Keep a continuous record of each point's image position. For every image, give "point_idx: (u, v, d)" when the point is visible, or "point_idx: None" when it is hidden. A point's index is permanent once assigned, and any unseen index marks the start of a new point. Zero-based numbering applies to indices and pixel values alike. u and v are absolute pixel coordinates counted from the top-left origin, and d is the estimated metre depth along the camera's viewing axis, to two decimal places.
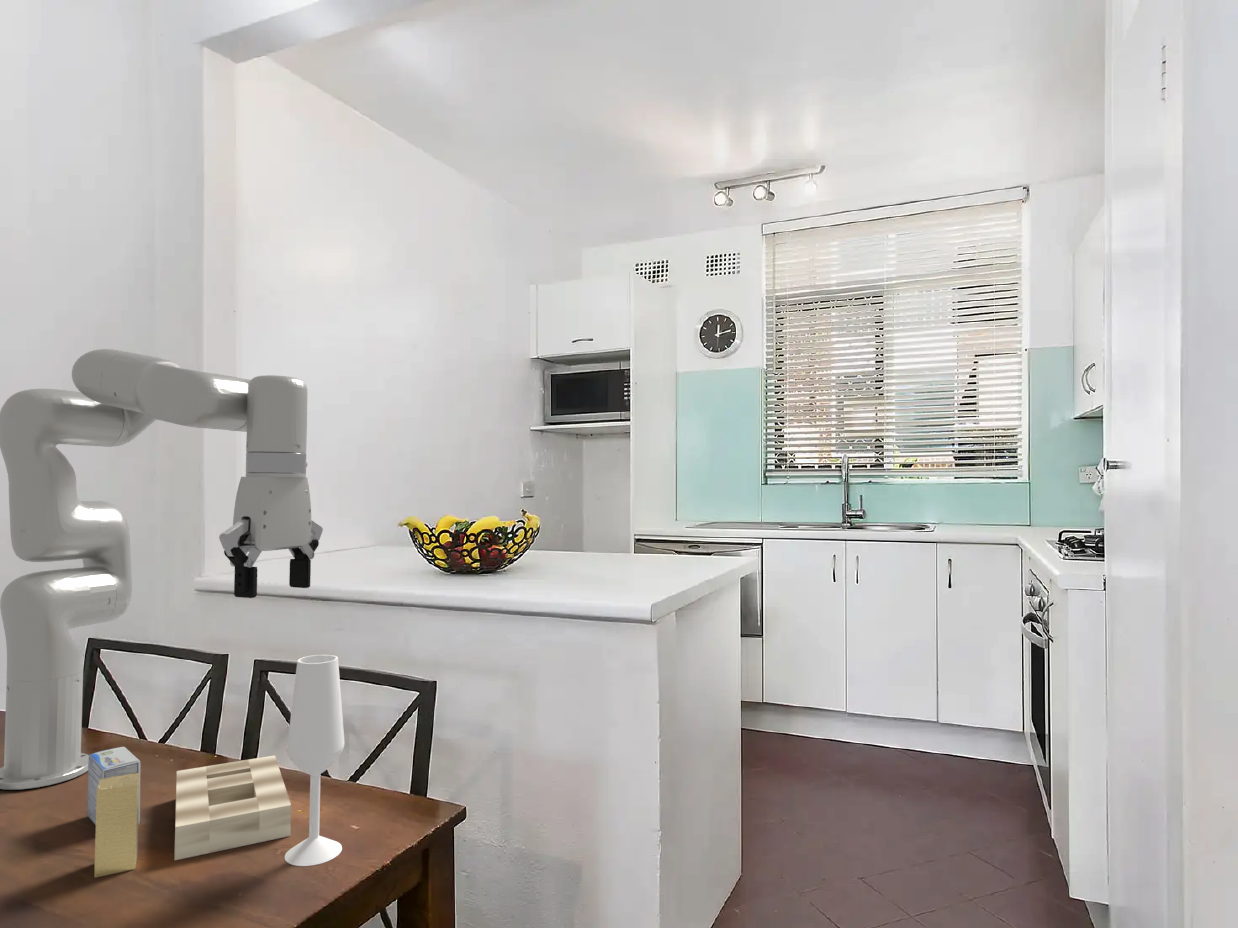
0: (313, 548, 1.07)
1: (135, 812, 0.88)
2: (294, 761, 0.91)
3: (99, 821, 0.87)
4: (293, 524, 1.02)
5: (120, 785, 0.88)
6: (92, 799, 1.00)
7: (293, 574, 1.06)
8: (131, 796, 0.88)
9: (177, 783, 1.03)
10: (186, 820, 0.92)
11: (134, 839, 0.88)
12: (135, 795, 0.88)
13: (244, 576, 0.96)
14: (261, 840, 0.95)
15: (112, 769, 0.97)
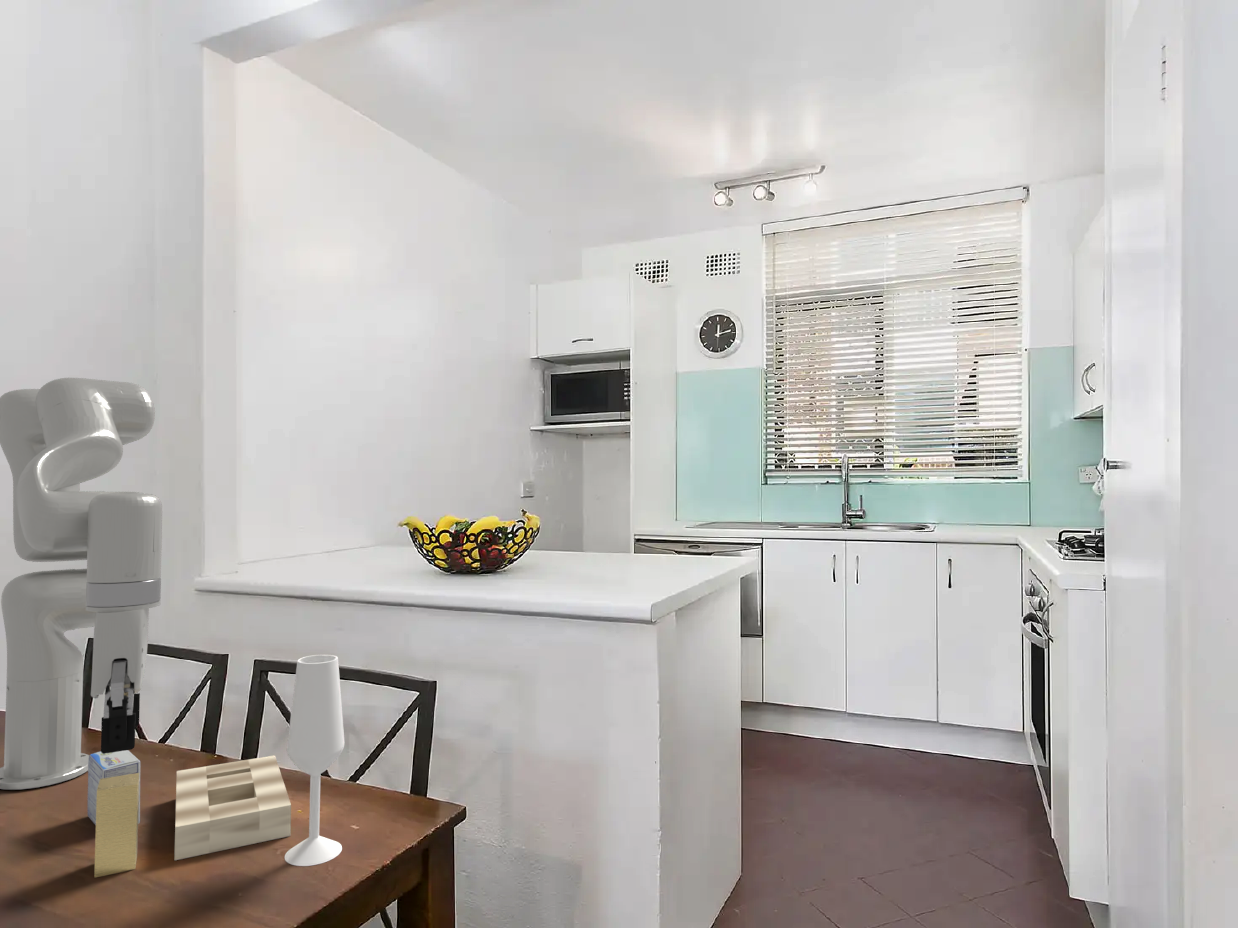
0: None
1: (135, 812, 0.88)
2: (294, 761, 0.91)
3: (99, 821, 0.87)
4: (146, 657, 0.91)
5: (120, 785, 0.88)
6: (92, 799, 1.00)
7: None
8: (131, 796, 0.88)
9: (177, 783, 1.03)
10: (186, 820, 0.92)
11: (134, 839, 0.88)
12: (135, 795, 0.88)
13: (125, 727, 0.85)
14: (261, 840, 0.95)
15: (112, 769, 0.97)
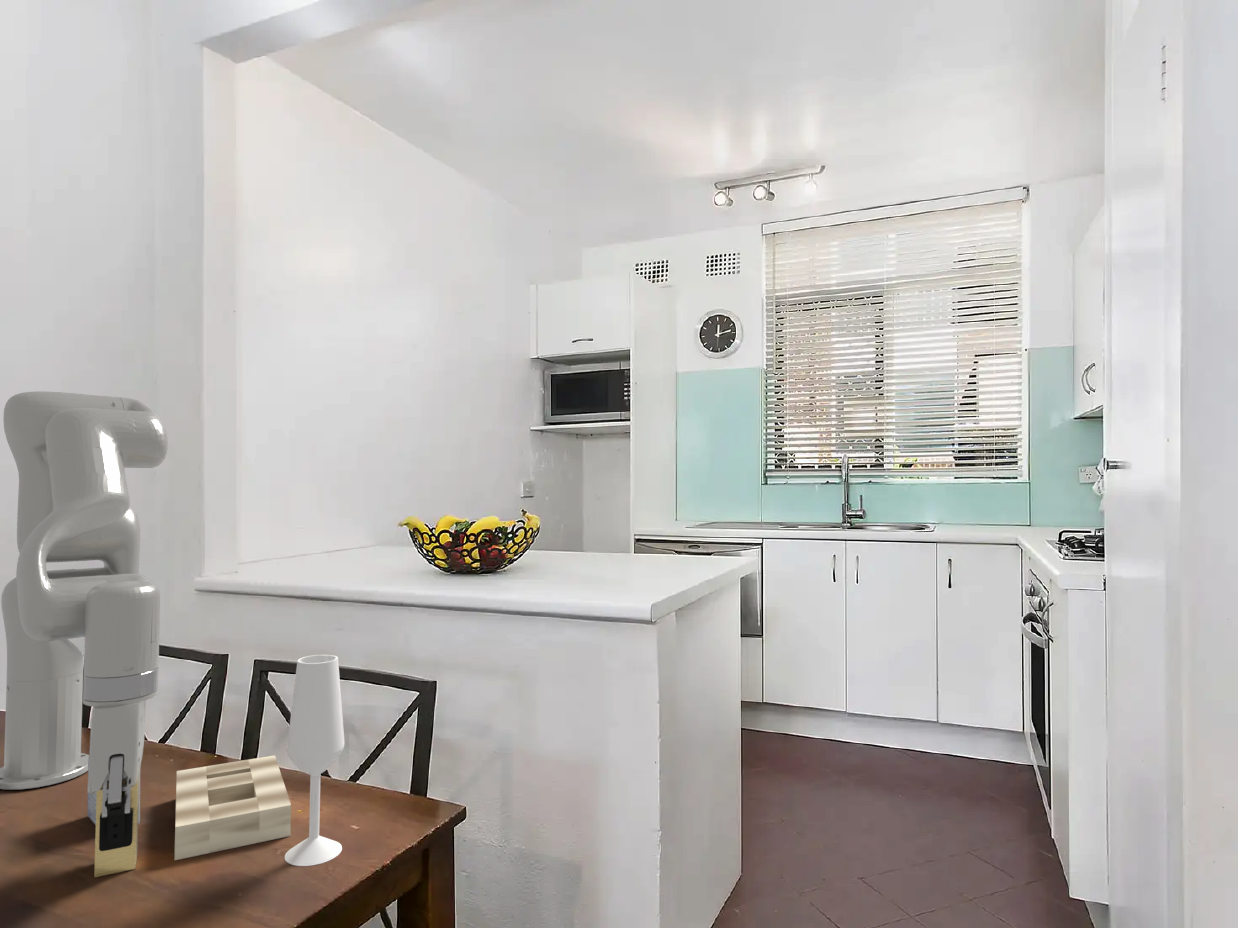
0: None
1: (135, 812, 0.88)
2: (294, 761, 0.91)
3: (99, 821, 0.87)
4: None
5: None
6: (92, 799, 1.00)
7: None
8: (131, 796, 0.88)
9: (177, 783, 1.03)
10: (186, 820, 0.92)
11: (134, 839, 0.88)
12: (135, 795, 0.88)
13: (123, 825, 0.87)
14: (261, 840, 0.95)
15: None
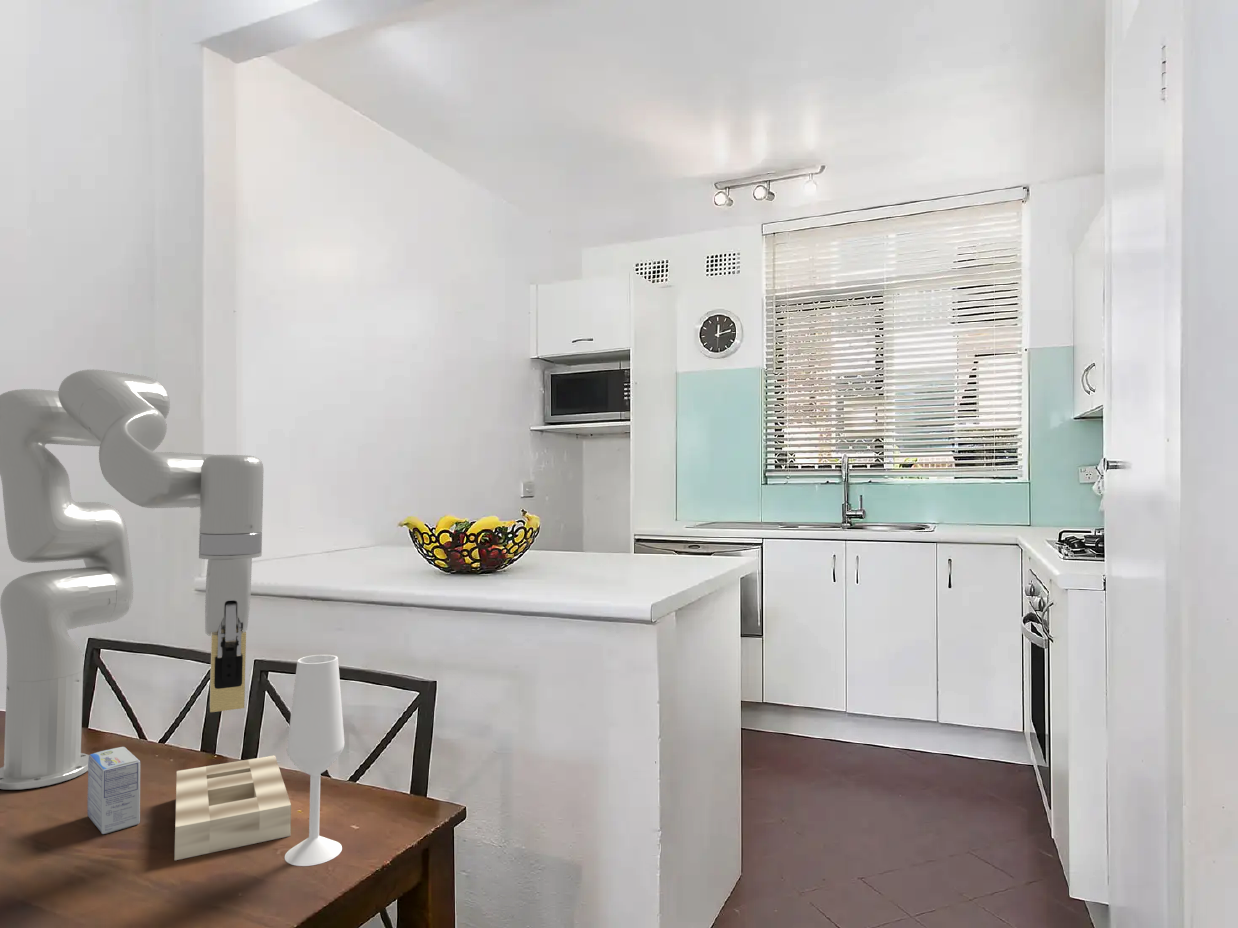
0: None
1: (244, 657, 0.99)
2: (294, 761, 0.91)
3: (214, 663, 0.97)
4: None
5: None
6: (92, 799, 1.00)
7: None
8: (241, 643, 0.99)
9: (177, 783, 1.03)
10: (186, 820, 0.92)
11: (243, 681, 0.99)
12: (244, 642, 0.99)
13: (235, 666, 0.97)
14: (261, 840, 0.95)
15: (112, 769, 0.97)
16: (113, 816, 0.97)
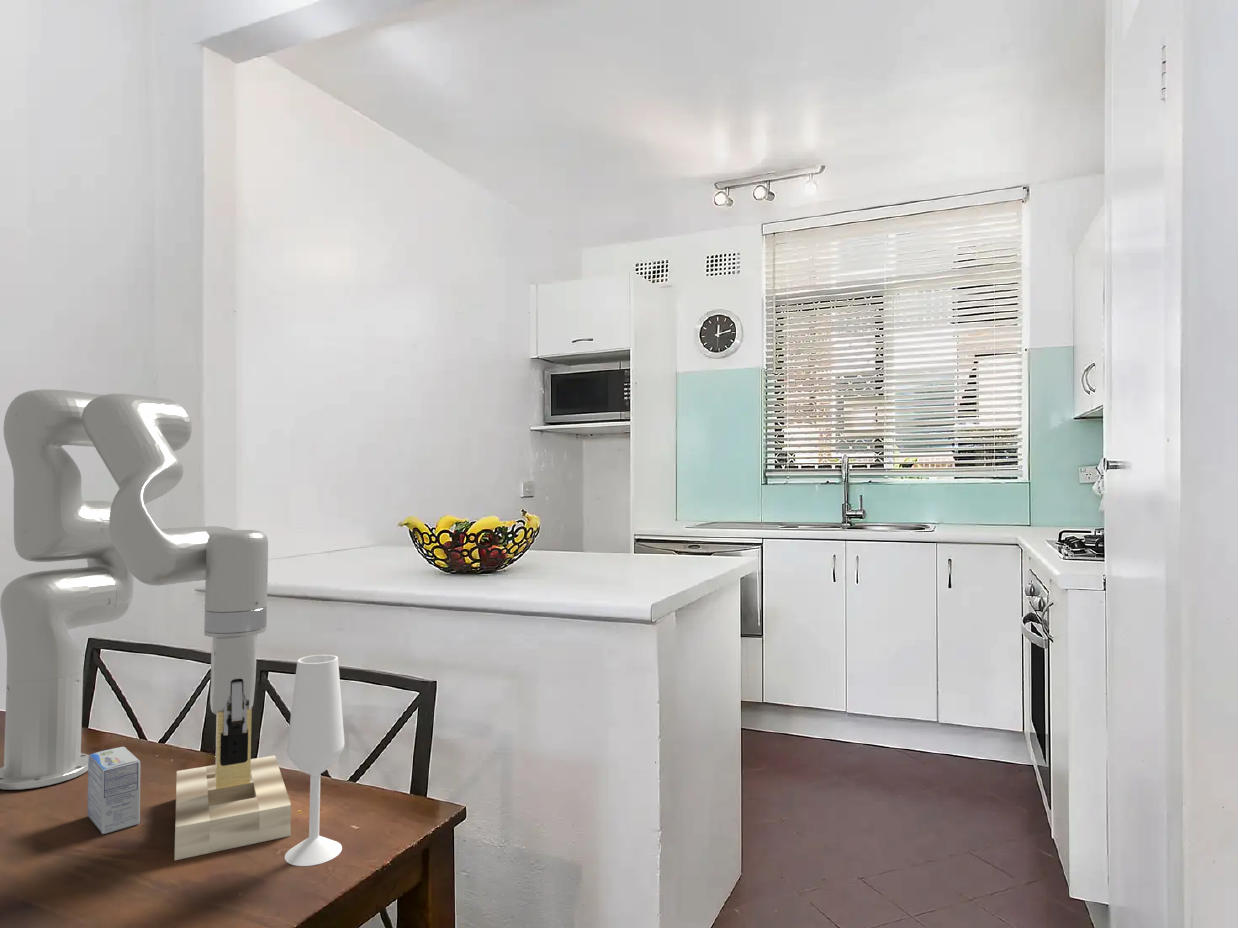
0: None
1: (250, 733, 1.00)
2: (294, 761, 0.91)
3: (220, 740, 0.98)
4: None
5: None
6: (92, 799, 1.00)
7: None
8: None
9: (177, 783, 1.03)
10: (186, 820, 0.92)
11: (249, 757, 1.00)
12: (250, 718, 1.00)
13: (240, 743, 0.98)
14: (261, 840, 0.95)
15: (112, 769, 0.97)
16: (113, 816, 0.97)
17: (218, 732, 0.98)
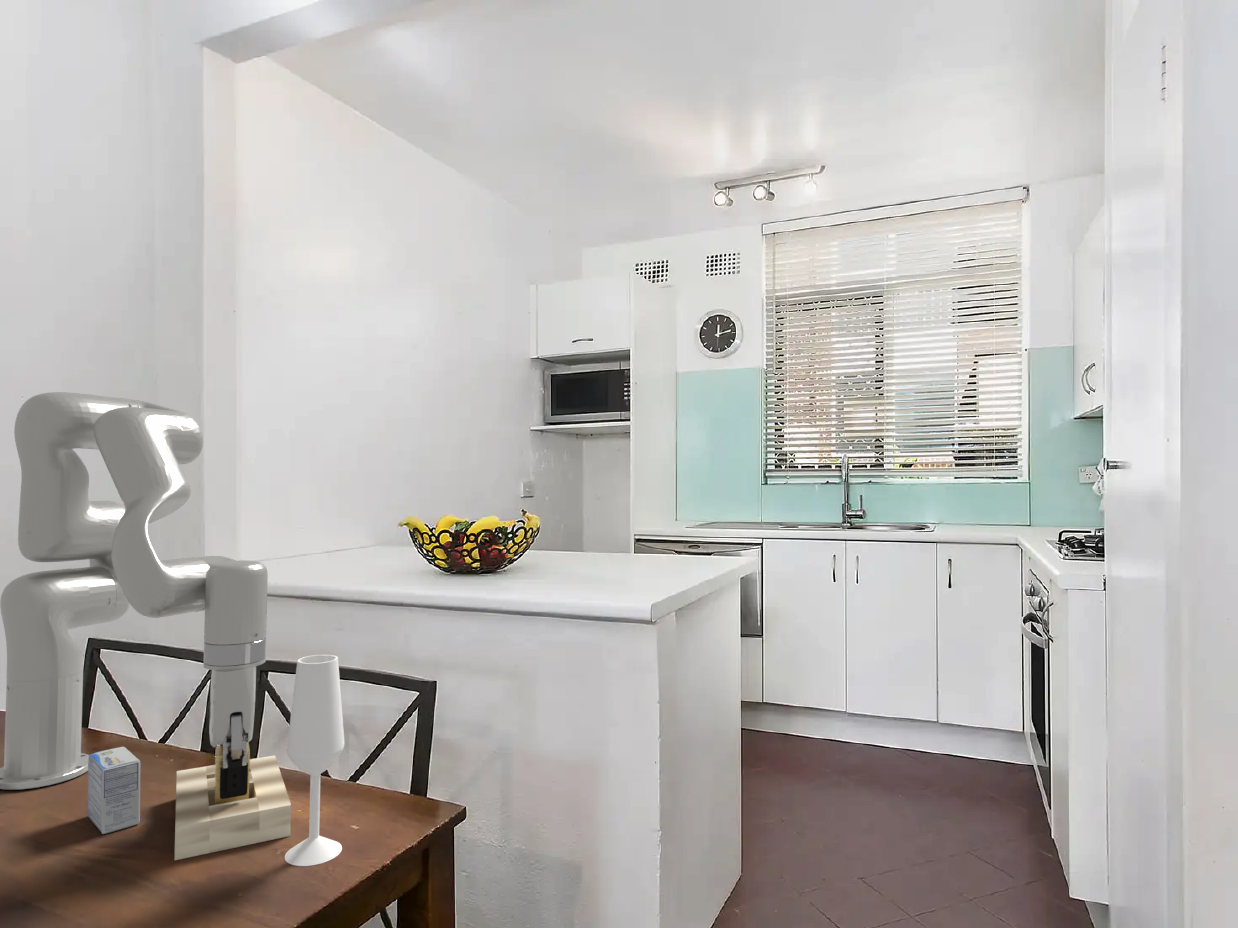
0: None
1: (248, 776, 1.00)
2: (294, 761, 0.91)
3: (218, 783, 0.98)
4: None
5: None
6: (92, 799, 1.00)
7: None
8: None
9: (177, 783, 1.03)
10: (186, 820, 0.92)
11: None
12: (248, 761, 1.00)
13: (240, 776, 0.97)
14: (261, 840, 0.95)
15: (112, 769, 0.97)
16: (113, 816, 0.97)
17: (216, 776, 0.98)
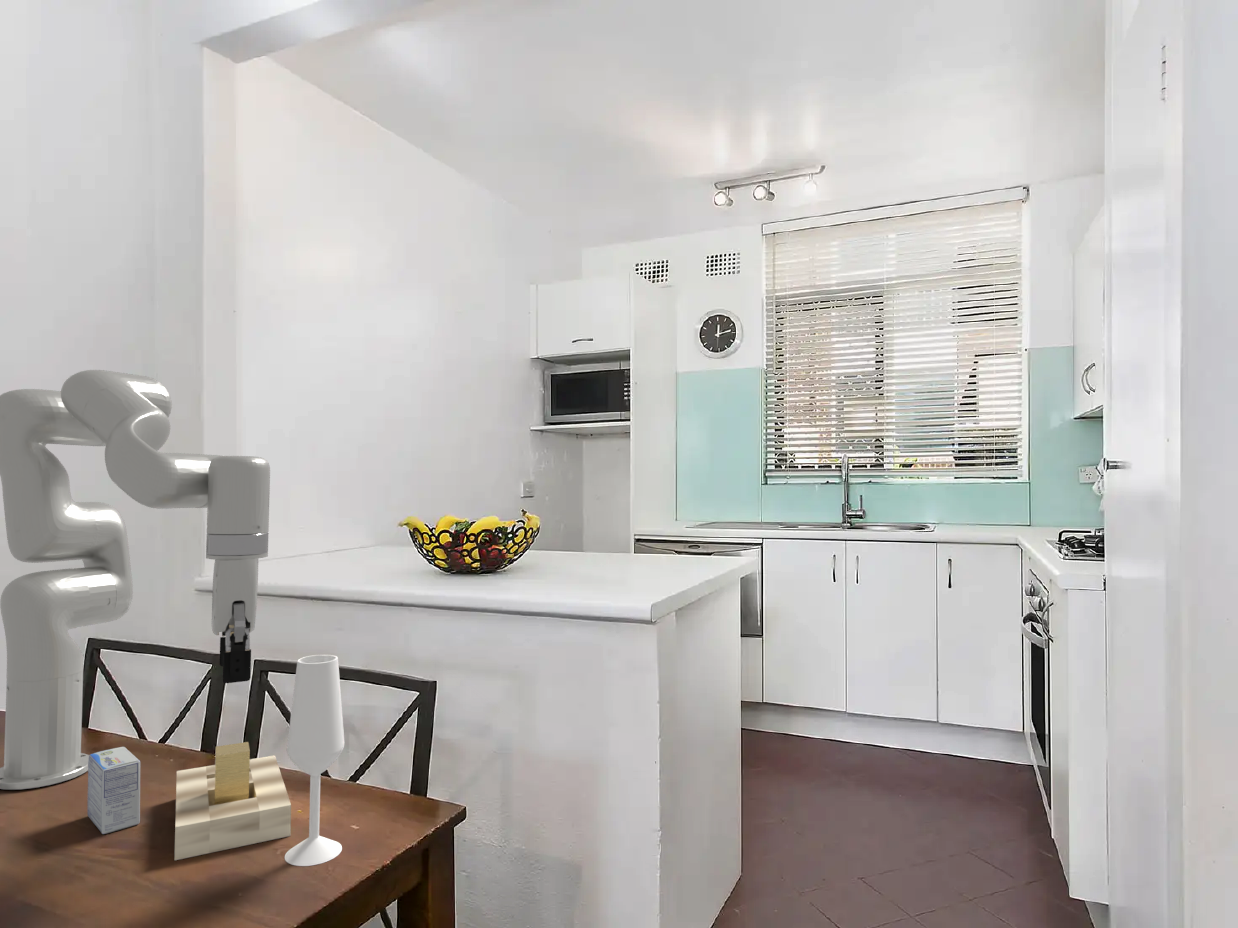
0: None
1: (248, 776, 1.00)
2: (294, 761, 0.91)
3: (218, 783, 0.98)
4: None
5: (234, 751, 0.99)
6: (92, 799, 1.00)
7: None
8: (244, 761, 0.99)
9: (177, 783, 1.03)
10: (186, 820, 0.92)
11: None
12: (248, 761, 1.00)
13: (243, 661, 0.96)
14: (261, 840, 0.95)
15: (112, 769, 0.97)
16: (113, 816, 0.97)
17: (216, 776, 0.98)
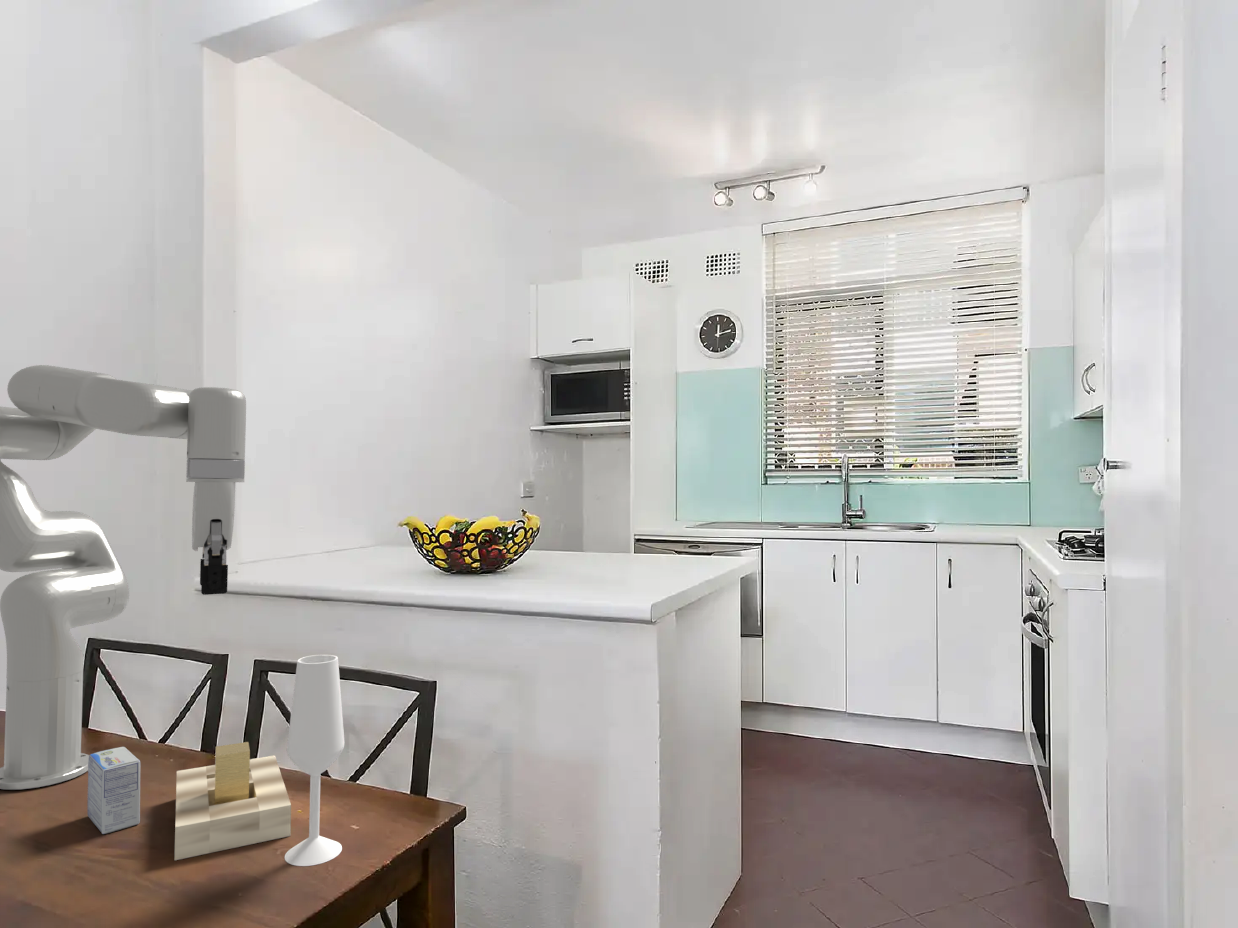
0: None
1: (248, 776, 1.00)
2: (294, 761, 0.91)
3: (218, 783, 0.98)
4: None
5: (234, 751, 0.99)
6: (92, 799, 1.00)
7: None
8: (245, 761, 0.99)
9: (177, 783, 1.03)
10: (186, 820, 0.92)
11: None
12: (248, 761, 1.00)
13: (220, 574, 1.04)
14: (261, 840, 0.95)
15: (113, 769, 0.97)
16: (113, 816, 0.97)
17: (216, 776, 0.98)
